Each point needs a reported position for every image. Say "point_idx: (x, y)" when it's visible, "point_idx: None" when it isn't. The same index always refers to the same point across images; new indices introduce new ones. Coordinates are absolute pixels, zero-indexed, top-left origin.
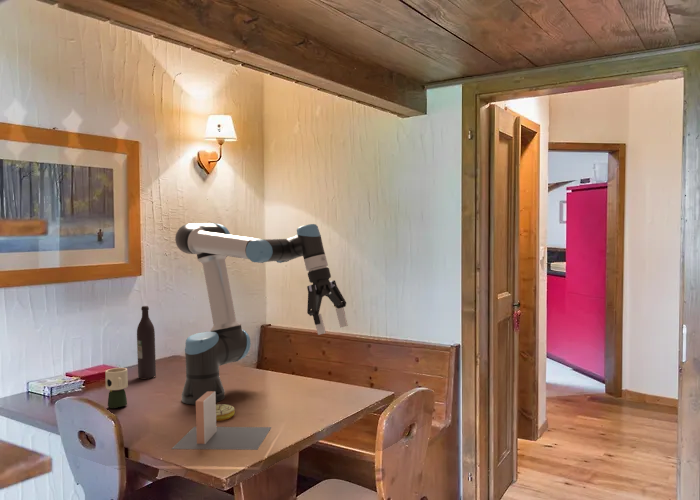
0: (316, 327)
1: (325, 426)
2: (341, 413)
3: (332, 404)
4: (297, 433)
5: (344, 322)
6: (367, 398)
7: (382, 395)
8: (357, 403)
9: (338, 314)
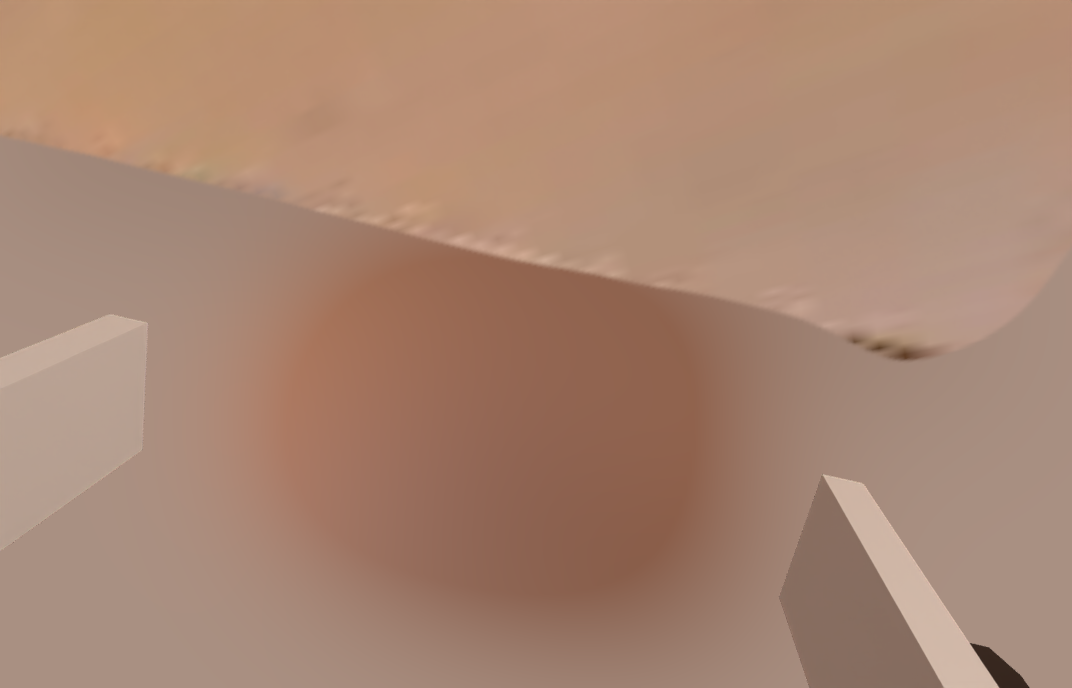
0: (11, 359)
1: (231, 185)
2: (472, 190)
3: (638, 57)
4: (56, 79)
5: (803, 620)
6: (833, 246)
7: (919, 317)
8: (702, 218)
9: (898, 675)
